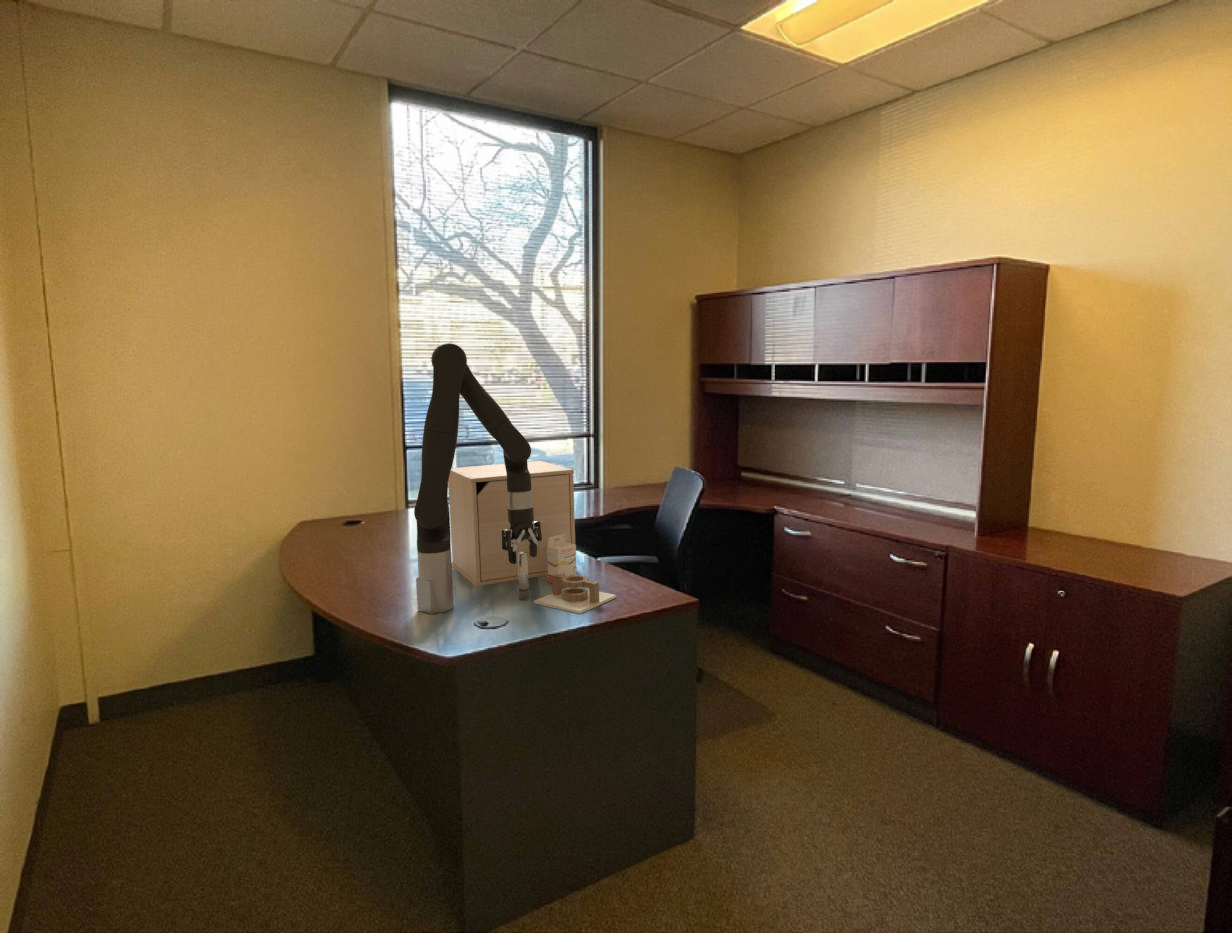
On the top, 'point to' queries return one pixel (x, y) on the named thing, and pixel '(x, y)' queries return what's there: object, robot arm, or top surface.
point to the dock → (573, 605)
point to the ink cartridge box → (561, 557)
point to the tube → (523, 575)
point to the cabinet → (505, 519)
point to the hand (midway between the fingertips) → (523, 560)
